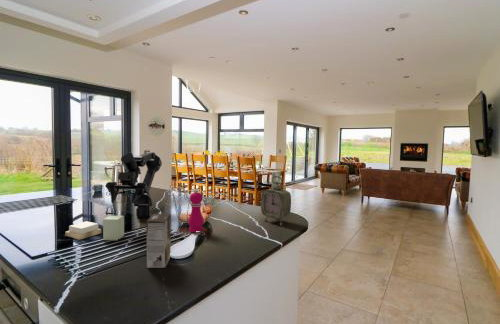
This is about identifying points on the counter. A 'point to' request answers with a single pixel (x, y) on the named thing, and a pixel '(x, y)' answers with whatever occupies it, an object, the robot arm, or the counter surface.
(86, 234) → the bottom block
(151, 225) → the coffee box
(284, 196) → the tabletop clock
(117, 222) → the sage block
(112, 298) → the counter surface
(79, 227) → the top block
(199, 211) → the pepper mill
